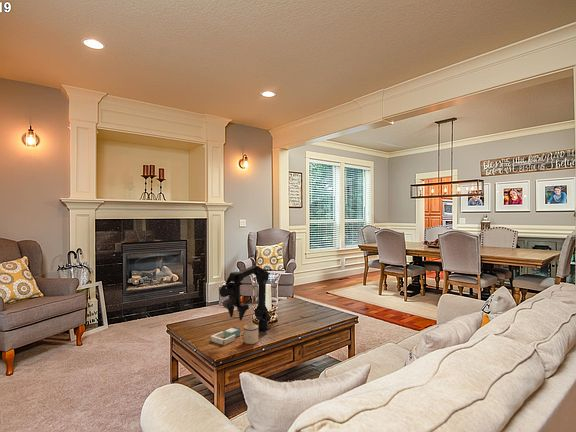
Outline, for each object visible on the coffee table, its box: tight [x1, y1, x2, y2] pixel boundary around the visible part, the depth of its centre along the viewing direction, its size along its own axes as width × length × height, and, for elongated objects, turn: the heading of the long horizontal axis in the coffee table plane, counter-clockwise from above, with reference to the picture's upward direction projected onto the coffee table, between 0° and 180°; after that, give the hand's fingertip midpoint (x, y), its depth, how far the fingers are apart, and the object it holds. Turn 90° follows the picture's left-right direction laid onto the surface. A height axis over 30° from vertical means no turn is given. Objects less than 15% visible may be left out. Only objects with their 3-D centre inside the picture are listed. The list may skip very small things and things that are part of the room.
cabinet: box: [223, 325, 241, 339], centre depth 209 cm, size 8×6×5 cm
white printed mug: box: [239, 321, 259, 345], centre depth 199 cm, size 12×9×12 cm
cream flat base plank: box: [210, 331, 236, 346], centre depth 202 cm, size 10×11×3 cm
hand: (235, 318), depth 200 cm, fingers open, 9 cm apart
